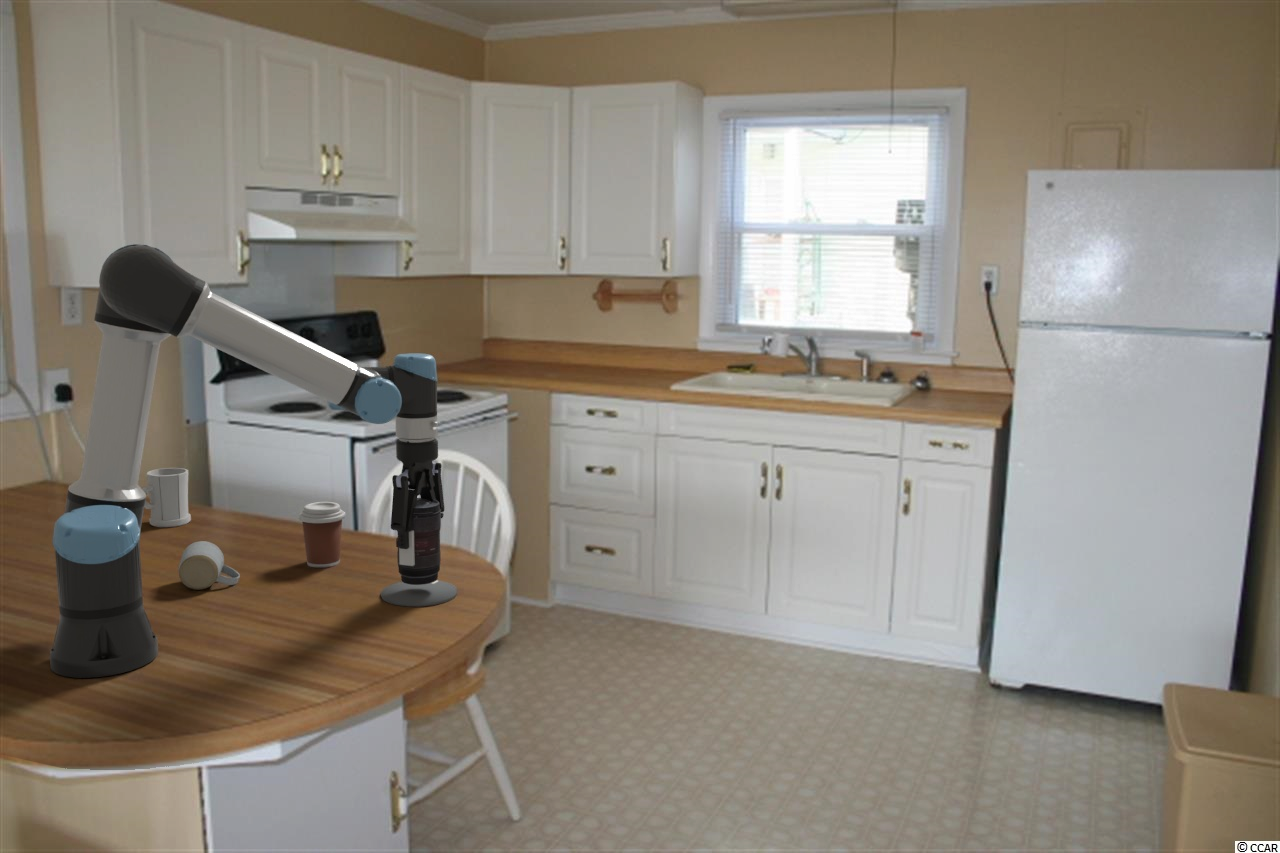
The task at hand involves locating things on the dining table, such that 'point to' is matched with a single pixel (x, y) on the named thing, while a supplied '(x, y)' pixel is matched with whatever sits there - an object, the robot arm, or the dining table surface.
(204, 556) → the ceramic mug
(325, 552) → the coffee cup
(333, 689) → the dining table surface
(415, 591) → the pad
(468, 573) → the dining table surface
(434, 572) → the camera lens
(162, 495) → the cup
